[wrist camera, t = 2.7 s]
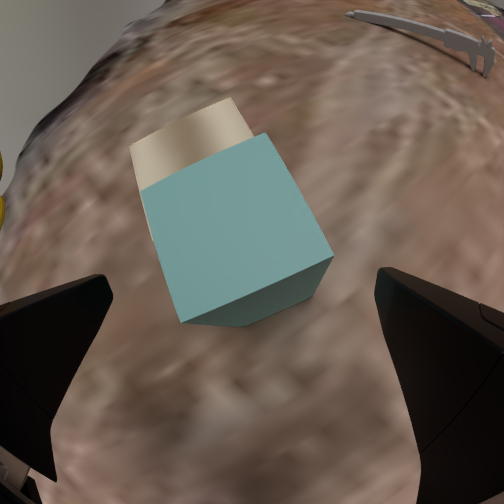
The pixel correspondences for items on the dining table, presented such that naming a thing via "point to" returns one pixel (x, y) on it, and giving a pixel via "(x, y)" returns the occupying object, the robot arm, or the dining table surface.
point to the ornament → (0, 200)
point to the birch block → (187, 143)
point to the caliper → (436, 36)
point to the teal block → (235, 236)
